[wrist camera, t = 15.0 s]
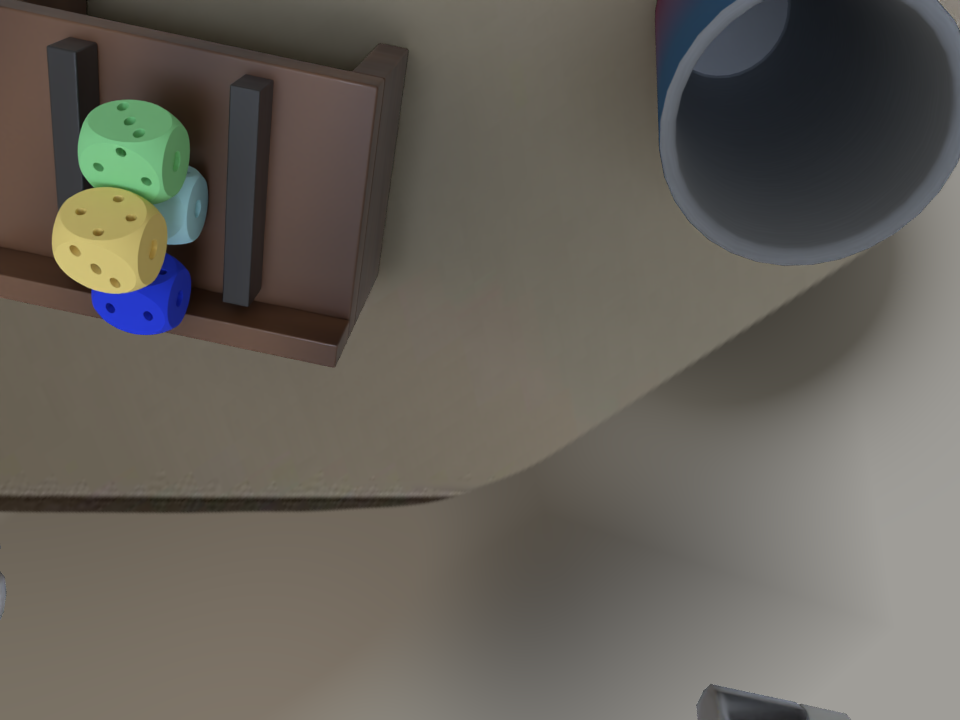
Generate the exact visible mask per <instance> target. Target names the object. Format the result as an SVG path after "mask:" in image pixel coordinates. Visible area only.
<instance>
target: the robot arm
mask: <svg viewBox="0 0 960 720" xmlns="http://www.w3.org/2000/svg"><path fill="white" fill-rule="evenodd" d="M5 598H6V585H5V577H4V575H3V574H2V573H1V572H0V619H1V617H2V614H3V612H4V605H5ZM696 706H697V717H698V720H851V719H850V718H849V717H848V715H847V714H844V713H840V712H835V711H831V710H826V709H822V708H817V707H813V706H808V705H804V704H797V703H796V702H792V701H787V700H783V699H778V698H773V697H769V696H764V695H759V694H755V693H750V692H745V691H740V690H736V689H731V688H727V687H721V686H717V685H713V684H710V685H709V686H708V687H707V688H706V689H705V690H704V691H703V693H702V695H701V697H700V699H699V701H698V703H697V705H696Z"/></svg>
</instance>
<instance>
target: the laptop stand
mask: <svg viewBox="0 0 960 720" xmlns="http://www.w3.org/2000/svg"><path fill="white" fill-rule="evenodd" d="M407 58H408V49H405V48H400V47H396V46H391V45H386V44H382V43H380V44H378V45H377V46H376V47H375V48H374V49H373V50H372V51H371V53H370V54H369V55H368V56H367V57H366V58H365V59H364V60H363V61H362V62H361V63H360V64H359V65H358V66H357V67H356V68H355V69H354V70H353V71H352V72H350V71H346V70H341V69H336V68H332V67H327V66H322V65H318V64H313V63H308V62H304V61H299V60H294V59H289V58H285V57H280V56H275V55H271V54H266V53H261V52H257V51H252V50H247V49H243V48H238V47H233V46H228V45H224V44H219V43H214V42H210V41H205V40H200V39H196V38H191V37H186V36H182V35H177V34H172V33H167V32H163V31H158V30H153V29H149V28H144V27H139V26H135V25H130V24H125V23H121V22H116V21H111V20H106V19H102V18H97V17H92V16H88V15H87V9H86V0H0V297H1V298H6V299H11V300H15V301H20V302H25V303H29V304H34V305H39V306H44V307H48V308H53V309H58V310H63V311H67V312H72V313H77V314H82V315H86V316H91V317H96V318H101V319H103V318H102V317H101V316H100V315H99V314H98V313H97V311H96V310H95V309H94V307H93V304H92V298H91V290H92V289H91V288H88V287H86V286H84V285H82V284H80V283H78V282H76V281H75V280H73V279H72V278H71V277H69V276H68V275H67V274H66V273H65V272H64V271H63V270H62V269H61V268H60V267H59V265H58V264H57V262H56V260H55V258H54V255H53V250H52V233H53V227H54V223H55V219H56V216H57V214H58V212H59V210H60V208H61V206H62V205H63V203H64V202H65V201H66V200H67V199H68V198H70V197H72V196H73V195H75V194H77V193H79V192H81V191H84V190H87V189H91V188H94V187H93V186H92V185H91V184H90V183H89V182H88V180H87V179H86V178H85V177H84V175H83V174H82V172H81V169H80V166H79V161H78V141H79V135H80V131H81V128H82V125H83V122H84V120H85V118H86V117H87V115H88V114H89V113H90V112H91V111H92V110H93V109H95V108H96V107H98V106H100V105H102V104H105V103H108V102H111V101H117V100H140V101H146V102H150V103H153V104H156V105H158V106H160V107H162V108H163V109H165V110H167V111H168V112H170V113H171V114H172V115H174V116H175V117H176V118H177V119H178V120H179V121H180V122H181V123H182V125H183V126H184V127H185V129H186V130H187V133H188V136H189V142H190V158H189V165H188V166H191V167H193V168H195V169H196V170H198V171H199V172H200V174H201V175H202V176H203V177H204V178H205V180H206V182H207V187H208V207H207V214H206V219H205V223H204V226H203V229H202V231H201V233H200V235H199V237H198V238H197V239H196V240H194V241H193V242H190V243H187V244H177V245H169V244H167V248H166V253H167V254H169V255H171V256H173V257H174V258H176V259H177V260H178V261H179V262H181V263H182V264H183V265H184V266H185V268H186V269H187V270H188V271H189V274H190V277H191V293H190V299H189V304H188V307H187V310H186V313H185V315H184V318H183V320H182V321H181V323H180V324H179V325H178V326H177V327H175V328H173V329H172V330H169V331H167V333H172V334H177V335H181V336H186V337H191V338H196V339H200V340H205V341H210V342H215V343H219V344H224V345H229V346H234V347H238V348H243V349H248V350H253V351H257V352H262V353H267V354H271V355H276V356H281V357H286V358H290V359H295V360H300V361H305V362H309V363H314V364H319V365H324V366H328V367H333V368H334V367H335V366H336V364H337V362H338V360H339V358H340V356H341V354H342V352H343V349H344V347H345V345H346V343H347V340H348V338H349V336H350V334H351V332H352V330H353V327H354V325H355V323H356V321H357V319H358V317H359V315H360V313H361V310H362V308H363V306H364V304H365V302H366V300H367V298H368V295H369V293H370V291H371V289H372V287H373V285H374V283H375V280H376V278H377V276H378V271H379V263H380V256H381V249H382V241H383V234H384V227H385V219H386V212H387V205H388V197H389V190H390V183H391V175H392V168H393V161H394V153H395V146H396V139H397V132H398V124H399V117H400V110H401V102H402V95H403V88H404V80H405V73H406V66H407Z"/></svg>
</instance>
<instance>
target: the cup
mask: <svg viewBox="0 0 960 720" xmlns="http://www.w3.org/2000/svg"><path fill="white" fill-rule="evenodd" d="M655 35H656V66H657V97H658V128H659V151H660V156H661V162H662V167H663V172H664V177H665V179H666V182H667V184H668V186H669V189H670V191H671V194H672V196H673V198H674V201H675V202H676V204H677V205H678V206H679V208H680V209H681V211H682V212H683V214H684V215H685V216H686V218H687V219H688V221H689V222H690V223H691V224H692V225H693V226H694V227H695V228H697V229H698V230H699V231H700V232H701V233H702V234H703V235H704V236H705V237H706V238H707V239H709V240H710V241H712V242H714V243H715V244H717V245H719V246H720V247H722V248H724V249H725V250H727V251H729V252H731V253H733V254H736V255H739V256H742V257H745V258H747V259H750V260H753V261H756V262H762V263H769V264H776V265H782V266H790V265H814V264H819V263H824V262H829V261H834V260H839V259H842V258H845V257H847V256H850V255H853V254H855V253H858V252H861V251H863V250H866V249H869V248H870V247H872V246H874V245H876V244H877V243H879V242H881V241H883V240H884V239H886V238H888V237H890V236H891V235H893V234H895V233H896V232H897V231H899V230H900V229H901V228H902V227H904V226H905V225H906V224H907V223H909V222H910V221H911V220H912V219H914V218H915V217H916V216H917V215H919V214H920V213H921V212H922V210H923V209H924V208H925V207H926V206H927V205H928V204H929V203H930V202H931V200H932V199H933V198H934V197H935V196H936V195H937V194H938V193H939V192H940V190H941V189H942V187H943V186H944V184H945V182H946V181H947V179H948V178H949V176H950V175H951V173H952V171H953V170H954V168H955V167H956V165H957V163H958V161H959V158H960V30H959V28H958V26H957V24H956V23H955V21H954V19H953V18H952V17H951V15H950V14H949V13H948V12H947V11H946V10H945V9H944V8H943V6H942V5H941V4H940V3H939V2H938V1H937V0H657V5H656V10H655Z"/></svg>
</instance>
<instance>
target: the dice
mask: <svg viewBox="0 0 960 720" xmlns="http://www.w3.org/2000/svg"><path fill="white" fill-rule="evenodd" d="M189 158H190V142H189V136H188V133H187V130H186V129H185V127H184V126H183V125H182V123H181V122H180V121H179V120H178V119H177V118H176V117H175V116H174V115H172V114H171V113H170V112H168V111H167V110H165V109H163V108H162V107H160V106H158V105H156V104H153V103H150V102H146V101H140V100H117V101H111V102H108V103H105V104H102V105H100V106H98V107H96V108H95V109H93V110H92V111H91V112H90V113H89V114H88V115H87V117H86V118H85V120H84V122H83V125H82V128H81V131H80V135H79V141H78V161H79V166H80V169H81V172H82V174H83V175H84V177H85V178H86V179H87V180H88V182H89V183H90V184H91V185H92V186H93V187H94V188H91V189H87V190H84V191H81V192H79V193H77V194H75V195H73V196H72V197H70V198H68V199H67V200H66V201H65V202H64V203H63V205H62V206H61V208H60V210H59V212H58V214H57V216H56V219H55V223H54V227H53V233H52V250H53V255H54V258H55V260H56V262H57V264H58V265H59V267H60V268H61V269H62V270H63V271H64V272H65V273H66V274H67V275H68V276H69V277H71V278H72V279H73V280H75V281H76V282H78V283H80V284H82V285H84V286H86V287H88V288H91V289H92V290H91V298H92V304H93V307H94V309H95V310H96V311H97V313H98V314H99V315H100V316H101V317H102V318H103V319H104V320H105V321H106V322H108V323H109V324H111V325H112V326H114V327H116V328H118V329H120V330H123V331H126V332H129V333H133V334H140V335H153V334H159V333H163V332H167V331H169V330H172V329H173V328H175V327H177V326H178V325H179V324H180V323H181V321H182V320H183V318H184V315H185V313H186V310H187V307H188V304H189V299H190V293H191V277H190V274H189V271H188V270H187V269H186V268H185V266H184V265H183V264H182V263H181V262H179V261H178V260H177V259H176V258H174V257H173V256H171V255H169V254H167V253H166V248H167V244H169V245H177V244H187V243H190V242H193V241H194V240H196V239H197V238H198V237H199V235H200V233H201V231H202V229H203V226H204V223H205V219H206V214H207V207H208V187H207V182H206V180H205V178H204V177H203V176H202V175H201V174H200V172H199V171H198V170H196V169H195V168H193V167H191V166H188V165H189Z"/></svg>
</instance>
